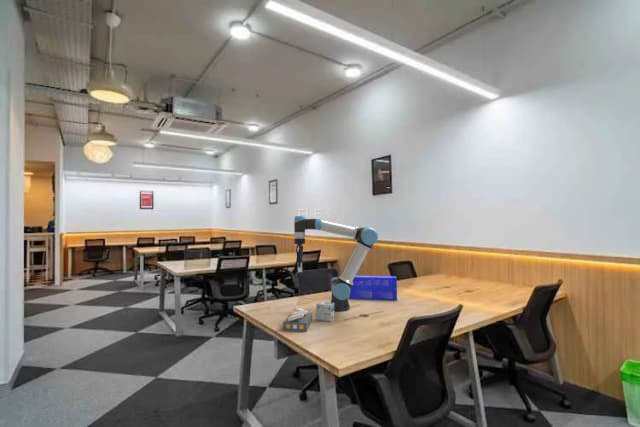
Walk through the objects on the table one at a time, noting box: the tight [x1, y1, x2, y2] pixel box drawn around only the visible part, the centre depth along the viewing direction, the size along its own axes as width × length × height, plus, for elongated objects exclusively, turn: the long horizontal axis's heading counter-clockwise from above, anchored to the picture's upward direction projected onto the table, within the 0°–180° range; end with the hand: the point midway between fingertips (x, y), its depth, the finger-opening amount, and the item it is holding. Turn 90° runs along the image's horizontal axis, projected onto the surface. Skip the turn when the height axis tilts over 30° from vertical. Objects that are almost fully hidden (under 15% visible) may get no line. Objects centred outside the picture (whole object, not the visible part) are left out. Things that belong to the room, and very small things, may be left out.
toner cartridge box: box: [348, 275, 398, 301], centre depth 273 cm, size 39×8×18 cm, turn 79°
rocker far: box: [292, 305, 308, 315], centre depth 209 cm, size 9×4×2 cm, turn 82°
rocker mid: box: [289, 309, 306, 316], centre depth 203 cm, size 9×4×2 cm, turn 82°
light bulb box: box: [315, 301, 335, 322], centre depth 216 cm, size 11×7×11 cm, turn 71°
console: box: [282, 312, 313, 333], centre depth 203 cm, size 14×20×6 cm
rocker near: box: [287, 312, 304, 321], centre depth 197 cm, size 9×4×2 cm, turn 82°
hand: (299, 271), depth 228 cm, fingers closed
